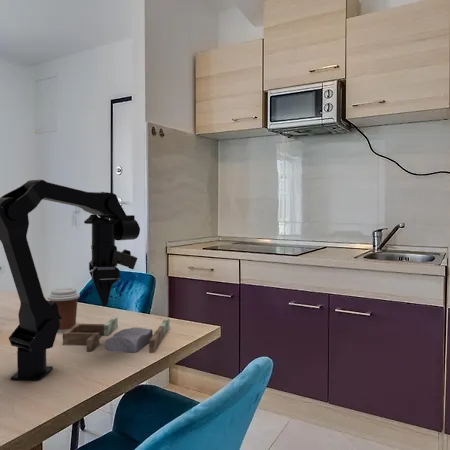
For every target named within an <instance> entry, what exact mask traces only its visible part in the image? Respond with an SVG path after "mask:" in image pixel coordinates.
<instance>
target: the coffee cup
mask: <svg viewBox="0 0 450 450" xmlns="http://www.w3.org/2000/svg"><path fill="white" fill-rule="evenodd" d="M80 297H81V294H80V293H79V292H78V291H77V288H75V287H59V288H54V289H52V290H51V292H50V293H49V295H48V296H47V301H52V302H56V303H57V305H58V312H59V315H60V316H61V317H62V319H59V320H60V328H59V330H58V332H57V333H64V332H66V331H67V330H69V329H70V328H71V327H73V326H74V325H76V324H77V313H78V311H77V310H78V299H79V298H80Z"/></svg>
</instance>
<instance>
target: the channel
mask: <svg viewBox="0 0 450 450" xmlns="http://www.w3.org/2000/svg"><path fill="white" fill-rule="evenodd" d="M118 319H119V318H118V316H114V317H112V318H110V320H109V321H107V322H106V323H76V325H74V326H73V327H71V328H70V329H69V330H67V331H66V332H62V345H63V346H66V345H67V346H69V345H70V346H71V345H73V346H75V345H76V346H86V352H92V351H93V350H94V349H95V348H96V347H98V346H99V345H100V339H101V338H102V337H103V336H105V337H107V336H110V335H111V334H112V333H113V332H114V331H115V330H116V329H117V328H118V325H119V324H118V323H119V322H118ZM169 329H170V317H165V318H164V319H163V321H162V322H161V324H160V325H159V326H158V328H157V330H156V331H154V332H153V336H152V338H151V339H150V340H149V343H148V345H149V346H148V351H149V353H155V352H156V350H157V348H158V347H159V345H160V343H161V342H162V340H163V339H164V337H165V335H166V334H167V333H168V331H169Z"/></svg>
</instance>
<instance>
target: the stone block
mask: <svg viewBox="0 0 450 450" xmlns="http://www.w3.org/2000/svg"><path fill="white" fill-rule="evenodd" d="M153 335H154V332H153V329H152V328H150V329H149V328H148V329H147V328H144V327H138V326H136V327H134V326H133V327H130V328H123V329H120V330H119V331H118V332H116V333H114V334H113V335H112V336H111V337H109V338H107V339H106V340H105V347H106V349H107V351H109V352H114V353H116V352H117V353H118V352H119V353H137V352H139V351H141V349H143V348H144V347H145V346H146V345H148V344H149V340H150V339H151V338H152V336H153Z"/></svg>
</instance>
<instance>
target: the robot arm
mask: <svg viewBox="0 0 450 450" xmlns="http://www.w3.org/2000/svg"><path fill="white" fill-rule="evenodd" d="M42 200H43V201H50V202H53V203H54V202H55V203H58V204H59V203H60V204H65V205H69V206H74V207H77V208H80V209H81V210H83V211H84V212H86V213H89V214H90V215H89V216H88V218H86V219H85V220H84V224H85V225H91V245H90V246H91V247H90V248H91V260H90V261H89V262H88V271H89V274H90V277H91V280H92V282H93V286H94V288H95V290H96V293H97V295H98V297H99V301H100V303H101V306H108V303H109V298H110V294H111V291H112V286H113V285H114V284H115V283H116V282H118V281H119V279H120V278H121V277H120V276H121V275H120V274H121V270H120V269H119V268H118V265H120V266H122V267H126V268H129V269H131V270H134V269H135V266H136V264H137V261H138V257H136V256H134V255H132V253H131V251H130V250H128V249H123V250H122V251H119V250H118V247H117V246H116V241H127V240H128V241H130V240H133V241H134V240H136V239H138V237H139V235H140V232H141V227H140V225H139V223H138V221H137V220H136V219H135V218H136V217H135V215H131V214H130V215H129V214H126V212H125V210H124V208H123V207H122V205H121V203H120V201H119V199H118V195H117V194H115V193H113V192H96V191H94V192H93V191H92V192H91V191H85V190H82V189H77V188H73V187H68V186H64V185H60V184H56V183H52V182H48V181H46V180H45V179H31V180H27V181H26V182H25V183H23V184H21V185H19V187H17V188H15V189H13V190H11V191H9V192H7V193H5V194H3V195H2V196H1V197H0V242H1V244H2V247H3V248H2V249H4V250H3V251H4V253H5V254H4V255H5V257H6V260H7V264H8V266H9V270H10V273H11V276H12V280H13V282H14V285H15V289H16V291H17V295H18V298H19V302H20V304H19V305H20V306H19V310H18V314H17V315H18V322H19V323H18V326H17V327H16V328H15V329H14V331H13V332H12V333H11V334H10V336H9V337H8V341H9V343H10V346H11V347H16V348H17V351H16V354H17V356H16V358H17V363H16V364H17V371H16V372H15V373H14V374H13V375H11V376H10V380H13V381H15V380H17V381H18V380H19V381H20V380H21V381H40V380H41V379H43V378H44V377H45V376H46V375H47V374H48V373H50V372H51V371H52V370H53V369H54V367H53V366H48V365H47V350H49V349H51V348H53V347H54V344H55V340H56V337H57V335H58V334H57V333H59V332H58V330H59V328H60V320H59V319H62V317H61V316H60V315H59V312H58V305H57V303H56V302H52V301H50V300H48V299H46V298H45V296H44V292H43V288H42V286H41V282H40V278H39V276H38V273H37V267H36V266H35V265H36V264H35V262H34V258H33V255H32V251H31V248H30V245H29V241H28V236H27V235H28V231H29V226H30V220H29V219H30V218H29V214H30V213H31V212H32V211H34V210H35V209H36V208H37V207H38V205H39V204H40V203H41V202H42Z"/></svg>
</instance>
